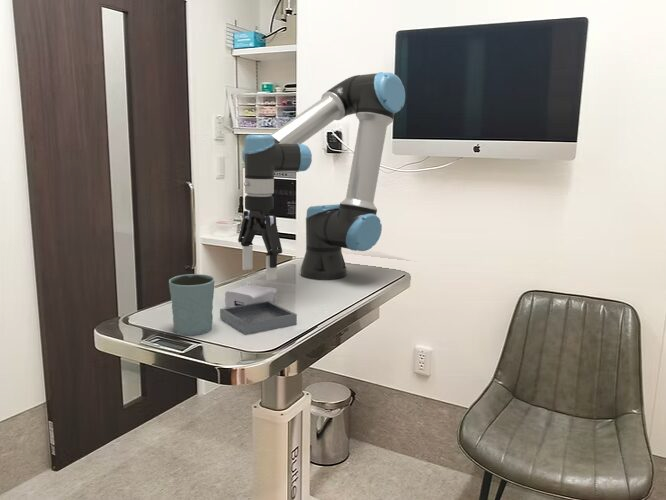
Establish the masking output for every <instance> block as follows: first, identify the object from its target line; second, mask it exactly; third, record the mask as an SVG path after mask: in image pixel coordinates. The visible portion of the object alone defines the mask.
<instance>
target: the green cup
mask: <svg viewBox="0 0 666 500" xmlns="http://www.w3.org/2000/svg"><path fill="white" fill-rule="evenodd" d="M168 287H169V294H170V300H171V310H172V323H173V330H174V332H175V333H176V332H177V333H179V334H178V335H180V334H183V335H182V336H200V335H204V334H207V333H209V332H211V331H212V329H213V320H214V319H213V315H214V314H213V307H214V306H213V305H214V304H213V303H214V302H213V301H214V295H215V294H214V292H215V277H214V276H211V275H209V274H201V273H192V274H191V273H190V274H189V273H188V274H187V273H186V274H181V275H176V276H174V277H172V278H170V279H168ZM177 333H176V334H177Z"/></svg>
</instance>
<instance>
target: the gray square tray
mask: <svg viewBox="0 0 666 500" xmlns="http://www.w3.org/2000/svg"><path fill="white" fill-rule="evenodd" d="M219 314H220V315H219V316H220V317H219V318H220V320H221V321H223V322H224V323H225V324H228V325H229V326H231V327H232V328H233V329H236V331H238V332H240V333H241V334H244V336H245V335H251V334H256V333H260V332H261V333H262V332H266V331H271V330H277V329H280V328H286V327H290V326H291V327H292V326H295V325H297V324H298V323H297V322H298V321H297V316H298V314H296V313H294V312H292V311H290V310H288V309H287V308H285V307H282V306H281V305H278V304H276V303H273V302H271V301H265V302H259V303H253V304H247V305H241V306H235V307H229V308H227V307H225V308H224V307H223V308H220V309H219Z"/></svg>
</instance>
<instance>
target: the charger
mask: <svg viewBox="0 0 666 500" xmlns="http://www.w3.org/2000/svg"><path fill="white" fill-rule="evenodd" d="M277 294H278V292H277V289H276V288H273V287H270V286H262V285H257V284H253V283H252V284H246V285H243V286H240V287H239V286H238V287H237V288H233V289H230V290H228V291H226V292H225V293H224V296H225V298H224V299H225V301H224V302H225V304H224V305H225V308H229V307H235V306H241V305H247V304H253V303H259V302H265V301H271V302H273V303H274V302H275V301H274V296H275V295H277Z"/></svg>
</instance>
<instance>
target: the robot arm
mask: <svg viewBox="0 0 666 500" xmlns="http://www.w3.org/2000/svg"><path fill="white" fill-rule="evenodd" d="M405 101H406V90H405V87H404V84H403V82H402V80H401V79H400V77H399V76H398V75H396V74H395V73H392V72H382V71H380V72H377V73H369V74H367V73H366V74H357V75H353V76H349V77H348V78H345V79H343V80H342V81H340V82H339V83H337V84H336V85H334V86H332V87H331V88H330V89H328V90H326V91H325V92H324V93H323V94H322V95H321V99H319V100H318V101H316V102H315V103H314V104H312V105H310V106H309V107H308V108H306V109H305V110H304V111H302V112H301V113H299V114H297V115H296V116H295V117H293V118H292V119H291V120H289V121H288V122H286V123H285V124H283V125H282V126H280V127H279V128H278V129H276V130H275V131H273V132H272V133H270V134H247V135H246V137H245V139H244V147H243V150H242V155H241V156H242V160H243V163H244V182H243V185H244V193H245V194H246V195H245V196H244V209H245V210H243V211H242V213H243V214H242V221H241V225H240V230H239V235H238V239H237V241H238V243H240V245H241V246H242V251H241V252H242V257H241V258H242V267H241V268H242V270H243V271H247V270H253V268H254V267H253V266H254V265H253V258H254V257H253V248H254V246H253V245H254V244H253V240H254V238H255V236H256V234H257V232H258V234H260V235H261V237H262V241H263V243H264V246H265V249H266V252H267V253H266V254H265V264H266V265H265V280H266V281H273V280H277V279H278V277H277V276H278V274H277V273H278V272H277V271H278V262H277V261H278V255H280V254H283V247H282V243H281V240H280V235H279V230H278V226H277V217H276V215H270V211H273V210H274V208H275V207H274V206H275V204H274V203H275V200H274V199H275V198H274V196H273V194H275V189H274V188H275V173H277V172H282V173H283V172H284V173H287V172H290V173H291V172H292V173H293V172H295V173H298V172H304V171H307V170H308V169H309V168H310V166H311V164H312V157H313V156H312V155H313V154H312V152H311V149H310V147H309V146H308V145H306V144H304V143H305V142H306V141H308V140H309V139H310V138H312V137H313V136H314V135H315V134H317V133H319V132H320V131H321V130H323V129H324V128H326V127H327V126H328V125H330V124H331V123H332V122H334V121H341V120H342V119H344V118H345V117H347V116H350V115H354V114H355V117H356V118H357V119H358V123H359V124H358V129H357V133H356V139H355V145H354V151H353V156H352V161H351V168H350V173H349V179H348V185H347V189H346V196H345V199H344V200H342V201H341V202H339V204H336V203H335V204H323V205H313V206H312V205H311V206H309V207H308V208H307V209H306V217H305V240H306V241H305V245H306V246H305V253H304V257H303V260H302V262H301V263H302V264H301V265H300V275H301V276H302V277H304V278H307V279H313V280H335V279H342V278H344V277H346V276H347V266H346V262H345V259H344V256H343V253H342V252H343V251H342V249H346V250H347V249H348V250H351V251H355V252H357V251H358V252H365V251H366V252H367V251H368V250H371V249H372V248H373V247H374V246H376V245H377V243H378V241H379V240H380V237H381V235H382V228H383V227H382V225H383V224H382V223H381V219H380V217H379V216H378V215H377V213H378V209H377V206H375V204H374V201H375V196H376V189H377V185H378V184H377V183H378V177H379V173H380V168H381V162H382V157H383V151H384V145H385V141H386V140H385V139H386V135H387V128H388V126H389V125H390V124H392V123H393V122H394V118H395V114H396V113H398V112H400V111H401V109H403V108H404V105H405V103H406V102H405Z"/></svg>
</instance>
